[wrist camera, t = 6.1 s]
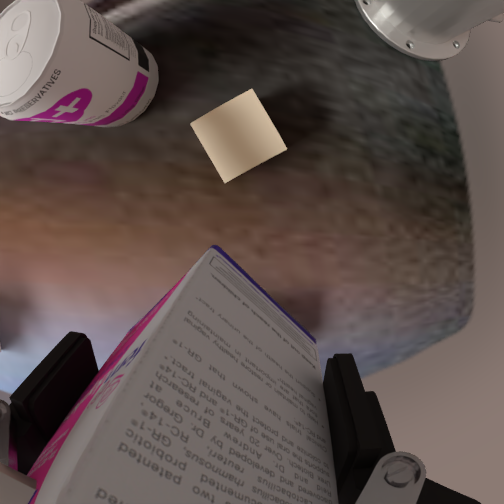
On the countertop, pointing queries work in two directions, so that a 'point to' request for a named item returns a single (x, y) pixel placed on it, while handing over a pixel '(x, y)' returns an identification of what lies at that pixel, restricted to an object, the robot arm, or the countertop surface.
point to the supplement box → (199, 406)
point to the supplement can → (71, 66)
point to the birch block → (238, 135)
